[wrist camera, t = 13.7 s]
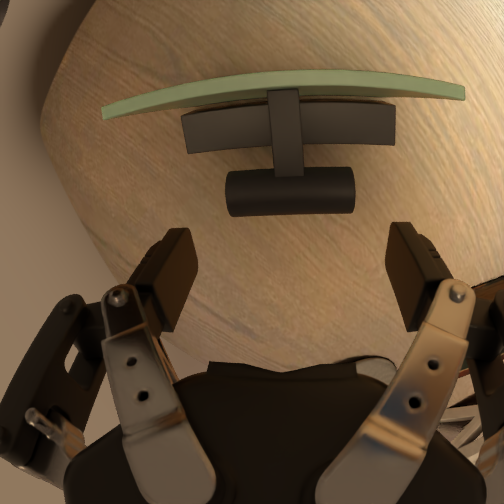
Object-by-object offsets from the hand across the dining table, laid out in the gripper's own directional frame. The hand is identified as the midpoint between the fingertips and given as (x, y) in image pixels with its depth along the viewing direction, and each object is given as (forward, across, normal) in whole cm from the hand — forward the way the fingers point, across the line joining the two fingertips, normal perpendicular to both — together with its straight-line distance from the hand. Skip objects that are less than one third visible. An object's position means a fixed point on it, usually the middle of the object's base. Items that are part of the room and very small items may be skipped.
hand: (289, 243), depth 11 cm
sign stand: (+13, 0, -3) cm, 14 cm away
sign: (+7, 0, -6) cm, 9 cm away
